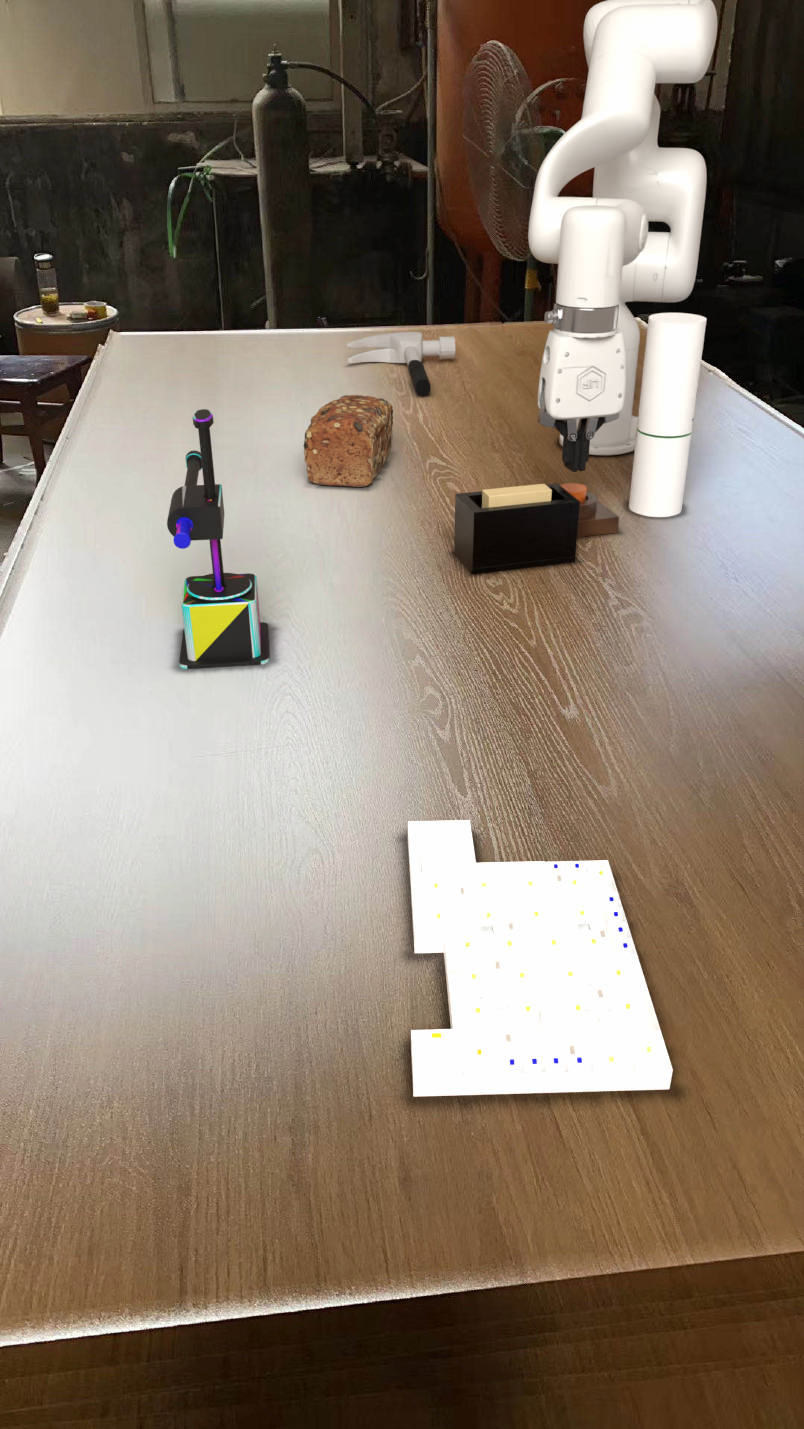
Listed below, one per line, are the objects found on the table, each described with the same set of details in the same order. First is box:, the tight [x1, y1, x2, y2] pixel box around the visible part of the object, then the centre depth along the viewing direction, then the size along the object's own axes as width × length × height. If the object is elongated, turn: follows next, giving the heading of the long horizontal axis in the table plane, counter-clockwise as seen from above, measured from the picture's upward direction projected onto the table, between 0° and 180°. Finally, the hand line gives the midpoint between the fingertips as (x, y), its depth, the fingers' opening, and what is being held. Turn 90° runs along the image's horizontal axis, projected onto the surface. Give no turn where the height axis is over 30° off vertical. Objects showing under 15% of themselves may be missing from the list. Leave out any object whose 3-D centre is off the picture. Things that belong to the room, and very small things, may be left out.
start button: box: [559, 482, 588, 502], centre depth 142 cm, size 4×4×2 cm
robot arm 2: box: [166, 408, 270, 670], centre depth 112 cm, size 25×9×24 cm, turn 7°
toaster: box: [453, 482, 580, 575], centre depth 133 cm, size 13×7×8 cm, turn 106°
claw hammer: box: [347, 331, 457, 397], centre depth 213 cm, size 5×22×30 cm
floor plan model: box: [407, 819, 674, 1098], centre depth 75 cm, size 15×25×2 cm, turn 2°
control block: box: [577, 491, 620, 538], centre depth 143 cm, size 10×8×4 cm
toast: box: [481, 483, 552, 508], centre depth 132 cm, size 8×2×8 cm, turn 106°
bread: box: [303, 394, 394, 488], centre depth 163 cm, size 19×11×10 cm, turn 170°
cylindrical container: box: [628, 312, 708, 518], centre depth 143 cm, size 7×7×25 cm
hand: (574, 468), depth 140 cm, fingers closed
